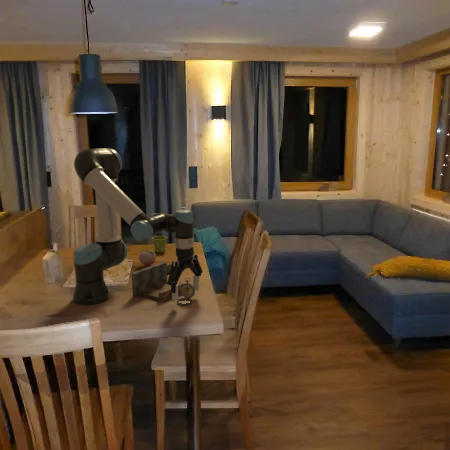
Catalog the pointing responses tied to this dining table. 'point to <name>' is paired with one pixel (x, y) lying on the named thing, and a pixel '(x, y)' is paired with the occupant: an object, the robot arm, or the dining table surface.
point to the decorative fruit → (147, 257)
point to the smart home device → (169, 269)
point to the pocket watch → (187, 295)
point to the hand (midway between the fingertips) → (186, 294)
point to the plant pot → (159, 243)
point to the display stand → (153, 283)
